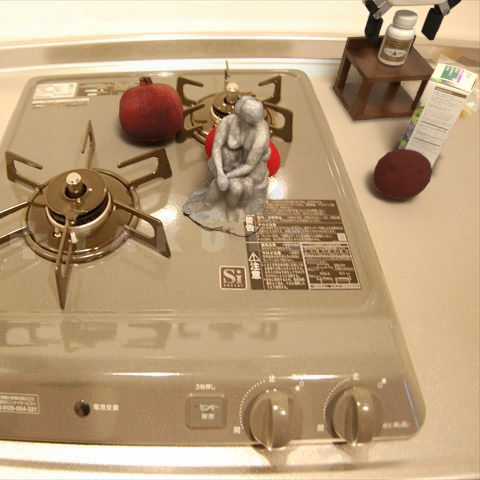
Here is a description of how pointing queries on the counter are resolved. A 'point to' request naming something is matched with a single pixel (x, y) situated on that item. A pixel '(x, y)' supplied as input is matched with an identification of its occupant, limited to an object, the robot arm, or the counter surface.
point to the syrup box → (438, 110)
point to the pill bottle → (398, 38)
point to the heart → (272, 162)
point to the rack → (379, 81)
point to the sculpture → (234, 169)
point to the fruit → (150, 111)
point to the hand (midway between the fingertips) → (398, 37)
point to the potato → (402, 174)
